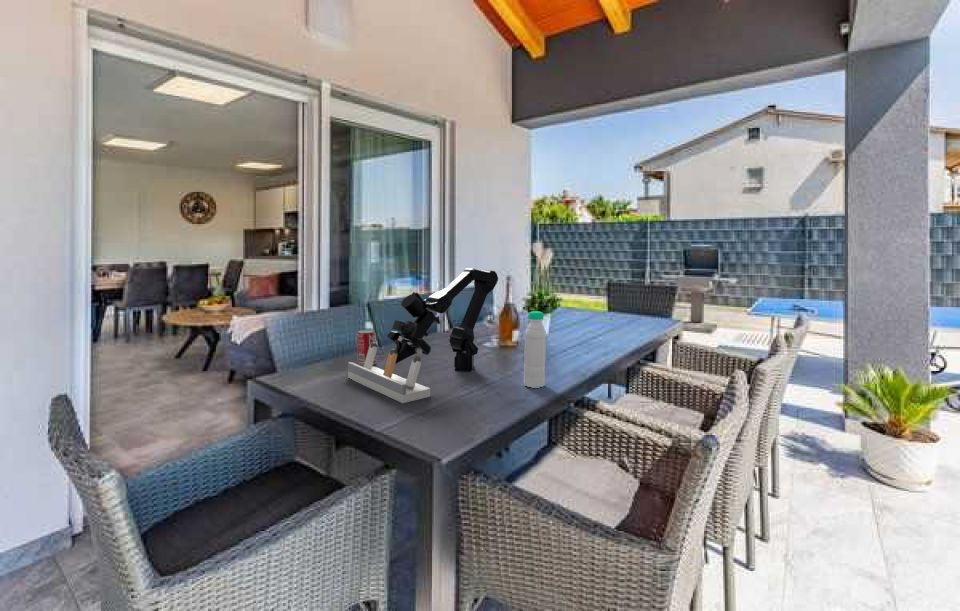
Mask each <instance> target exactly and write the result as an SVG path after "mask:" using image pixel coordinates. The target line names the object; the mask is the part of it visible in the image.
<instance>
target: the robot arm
mask: <svg viewBox="0 0 960 611" xmlns="http://www.w3.org/2000/svg"><path fill="white" fill-rule="evenodd" d="M473 281H474V282H473ZM498 281H499V277H498V273H497V272H496V271H495V270H487V269H480V270H478V269H476V268H472V267H471V268H470V267H466V268H464V269H463V271H462V272H461V273H460V274H459V275H458V276H457V277H456V278H455V279H453V280H452V281H451V282H450V283H449V284H448V285H447V286H445V288H443V289H442V290H439V291H436V292H434V293H432V294H431V295H428V297H427V298H426V299H423V298H422V297H421V295H420V294H419V292H415V291H413V292H412V293H411V294H409V295H407V296H406V297H404V298H403V299H402V301H401V303H400V305H401V307H402V308H403V310H405V311H406V312H407V314H408V315H409V316H411V317H412V318H415V319H414V321H410V320H406V321H402V320H398V319H397V320H396V319H394V321H393V322H394V323H393V324H392V327H391V329H392V330H391V331H389V332H388V334H387V335H386V336H387V338H388V339H389V340H391V341H392V343H393V344H394V345H396V347H395V349H396V350H397V354H398V355H397V358H396V362H395V365H397V364H398V363H400V362H402V361H404V360H406V359H408V358H410V357H412V356H413V355H417V354H418V352H417V351H418V349H420V350H421V353H422V355H426V356H429V354H430V353H431V352H432V347H431V346H430V345H429V343H428V342H427V341H426V340H424V337H428V336H429V333H428V331H429V330H430V329H431V328H432V326H433V325H434V324H436V325H441V321H440V320H441V319H440V316H439V315H436V314H445V313H446V312H447V310H449V309H450V308H451V305H452V303H453V300H454V298H456V297H457V296H458V295H459V294H460V293H462V291H463V290H465V289H466V288H467V287H468V286H469V285H470V284H471V283H472V282H473V285H474V292H473V294H472V296H471V299H470V301H469V304H468V306H467V309H466V311H465V314H464V316H463V319H462V321H461V323H460V325H459V326H458V327H457V326H456V327H455V326H453V328H452V330H451V333H450V335H449V336H448V337H449V342H448V343H449V344H450V347H451V349H452V352H454V353H455V356H454V362H453V365H454V371H455V372H458V371H460V372H470V371H471V372H473V370H474V369H475V367H476V366H475V355H478V353H479V352H478V351H479V348H478V346H477V345H476V344H475V343H474V340H475V332H474V329H475V327H476V323H477V322H478V318H479V316H480V314H481V311H482V309H483V306H484V304H485V301H486V299H487V296H488V295H489V294H490V293H491V292H492V291H493V290H494V289H495V287H496V285H497V283H498ZM435 313H436V314H435ZM398 331H399V332H398Z"/></svg>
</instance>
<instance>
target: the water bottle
mask: <svg viewBox="0 0 960 611" xmlns="http://www.w3.org/2000/svg"><path fill="white" fill-rule="evenodd" d="M528 320H529V323H528V325H527V328H526V330H525V332H524V337H525V338H524V348H523V349H524V351H523V352H524V354H523V355H524V356H523V357H524V358H523V359H524V365H523V386H524V385H525V386H529V387H540V386H544V387H545V385H546V377H545V373H546V366H545V365H546V357H547V354H546V353H547V341H546V340H547V331H546V330H545V326H544V325H543V320H544V312H542V311H539V310H538V311H537V310H534V311H530V312H528ZM525 386H524V387H525Z"/></svg>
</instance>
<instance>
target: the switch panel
mask: <svg viewBox="0 0 960 611" xmlns="http://www.w3.org/2000/svg"><path fill="white" fill-rule="evenodd" d="M384 370H385V369H382V368H379V367H377V366H375V365H372V368H371V370H370V369H367V368H365V367H363V366H360V365H359V364H358V363H355V362H352V361H349V362H347V372H348V373H347V374H348V375H347V377H348V379H349V378H350V379H349V380H351V379H352V381H354V382H356V383H358V384H360V385H363V386H364V387H367V388H368V389H371V390H374V391H375V392H377V393H380V394H382V395H385V396H386V397H388V398H391V399H393V400H395V401H397V402H399V403H401V404H406V403H409V402H413V401H418V400H421V399H427V398H429V397H431V388H430V387H429V386H425V385H422V384H420V383H417V382H416V383H415V386H414V389H413V390H412V389H409V388H407V387H406V384H405V383H406V380H407V378H405V377H402V376H400V375H397V374H395V373H392V377H391V378H389V377H387V376H384V375H383V373H384Z"/></svg>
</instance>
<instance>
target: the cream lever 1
mask: <svg viewBox="0 0 960 611" xmlns="http://www.w3.org/2000/svg"><path fill="white" fill-rule="evenodd" d="M377 351H378V344H377V342H376V343H375V342H373V343H371V345H370V346H369V350H368V353H367V356H366V360H365V363H364V366H362V367H365V368H367V369H370V370H371V368H372V367H373V366H374V365H373V361H374V358H375V355H376V356H377Z"/></svg>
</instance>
